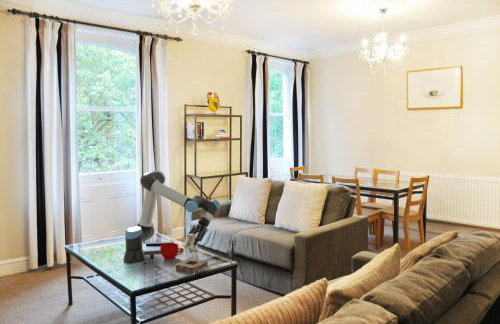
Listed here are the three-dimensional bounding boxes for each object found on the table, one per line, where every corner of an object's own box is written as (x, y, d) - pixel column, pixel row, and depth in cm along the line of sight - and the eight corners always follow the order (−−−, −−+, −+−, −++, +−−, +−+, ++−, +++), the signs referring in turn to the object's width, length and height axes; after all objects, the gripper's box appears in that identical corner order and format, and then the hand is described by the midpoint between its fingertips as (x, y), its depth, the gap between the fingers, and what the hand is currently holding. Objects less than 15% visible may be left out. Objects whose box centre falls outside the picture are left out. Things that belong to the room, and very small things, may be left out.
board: (175, 270, 285) (175, 264, 284) (189, 263, 299) (189, 257, 298) (194, 274, 278) (194, 268, 278) (207, 266, 292) (207, 260, 292)
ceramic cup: (179, 262, 300) (179, 249, 299) (157, 261, 303) (157, 247, 302) (186, 256, 312) (186, 243, 311) (164, 255, 316) (164, 242, 315)
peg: (186, 252, 286) (186, 235, 285) (191, 250, 291) (190, 233, 289) (193, 253, 284) (192, 236, 283) (197, 251, 288) (197, 234, 287)
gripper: (217, 224, 291) (199, 253, 280) (199, 220, 303) (182, 248, 292) (211, 218, 286) (193, 247, 276) (194, 214, 298) (176, 242, 288)
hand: (187, 247), depth 284 cm, fingers closed on peg, 5 cm apart
